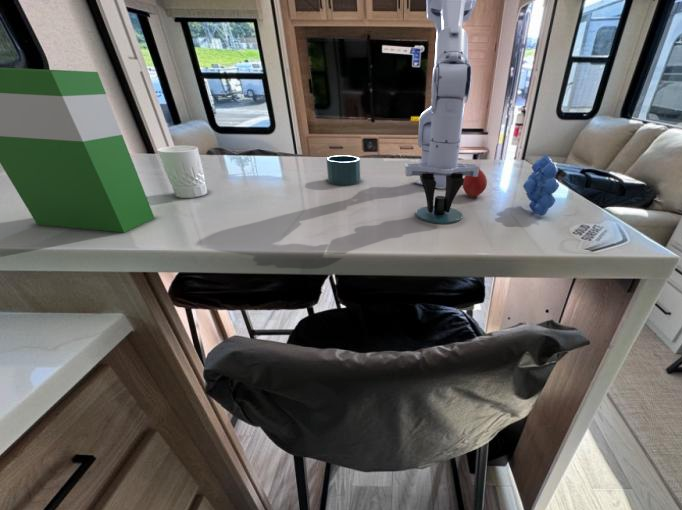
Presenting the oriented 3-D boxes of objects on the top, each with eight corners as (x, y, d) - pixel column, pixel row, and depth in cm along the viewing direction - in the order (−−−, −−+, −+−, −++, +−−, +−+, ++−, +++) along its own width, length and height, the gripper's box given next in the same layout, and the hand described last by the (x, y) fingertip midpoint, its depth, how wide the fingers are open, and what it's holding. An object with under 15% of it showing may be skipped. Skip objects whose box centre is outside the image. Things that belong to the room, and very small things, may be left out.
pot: (362, 177, 98) (361, 156, 94) (357, 186, 90) (357, 162, 87) (331, 176, 98) (330, 154, 94) (325, 184, 90) (323, 161, 87)
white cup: (164, 196, 78) (148, 149, 72) (193, 187, 84) (180, 144, 78) (189, 201, 75) (174, 153, 70) (217, 192, 82) (205, 147, 76)
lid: (458, 211, 76) (461, 191, 73) (464, 227, 68) (467, 206, 65) (415, 209, 76) (416, 189, 73) (416, 225, 68) (417, 203, 65)
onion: (456, 196, 86) (460, 163, 81) (474, 194, 88) (479, 161, 83) (469, 203, 81) (474, 168, 77) (488, 200, 83) (494, 167, 79)
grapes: (508, 203, 82) (519, 151, 75) (534, 204, 82) (548, 151, 76) (526, 221, 72) (541, 162, 65) (556, 221, 73) (574, 163, 66)
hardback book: (37, 224, 62) (-58, 66, 48) (74, 211, 68) (-1, 67, 54) (124, 232, 60) (51, 71, 47) (154, 218, 66) (97, 71, 53)
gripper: (410, 143, 59) (407, 218, 67) (489, 145, 61) (476, 217, 69) (404, 137, 65) (402, 206, 72) (476, 138, 67) (466, 205, 74)
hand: (438, 210), depth 71 cm, fingers open, 3 cm apart
